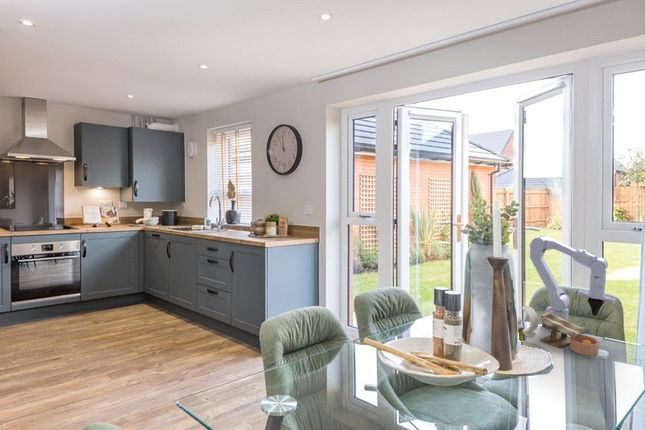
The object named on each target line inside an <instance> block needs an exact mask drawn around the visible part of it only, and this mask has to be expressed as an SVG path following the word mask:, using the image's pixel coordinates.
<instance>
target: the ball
mask: <svg viewBox="0 0 645 430" xmlns="http://www.w3.org/2000/svg"><path fill="white" fill-rule="evenodd" d="M581 343H583V344H592V343H591V342H590V341H589V340H583V341H582V342H581Z"/></svg>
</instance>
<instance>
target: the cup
mask: <svg viewBox="0 0 645 430" xmlns="http://www.w3.org/2000/svg"><path fill="white" fill-rule="evenodd" d="M569 337H570V345H569V350H571V351H573V352H574V353H577V354H579V355H584V356H596V355H598V354H599V345H600V343H599V340H598V339H596V338H594V337H592V336H588V335H586V334H581V335H579V336H577V337H574V338H573V337H571V336H569ZM583 340H589V341H590V342H591V343H592V344H583V343H581V342H582V341H583Z"/></svg>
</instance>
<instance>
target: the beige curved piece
mask: <svg viewBox="0 0 645 430" xmlns="http://www.w3.org/2000/svg"><path fill="white" fill-rule="evenodd" d="M539 320H541V328H544V329H545V330H547V331H549V330H551V326H554V327H557V331H558V330H559V332H560V333H561V332H563V333H565V334H567V336H569V337H570V336H571V337H573V338H574V337H577V336H579V335H586V334H587V333H589V332H590V329H589V328H587V327H584V326H578V325H576V324H574V323H572V322H570V321H569V320H568V321H566V320H564V319H562V318H559V317H557V316H555V315H553V314H552V313H551V312H548V313H546V314H545V313H543V314H541V315H540V319H539Z"/></svg>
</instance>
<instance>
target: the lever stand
mask: <svg viewBox="0 0 645 430" xmlns="http://www.w3.org/2000/svg"><path fill="white" fill-rule="evenodd" d="M540 342H542V343H544V344H547V345H549V346H552V347H556V348H557V349H563V348H565V347H567V346H570V336H569V335H567V334H565V333H563V332H561V331H560V332H558V330H557V327H554V326H551V329H550V334H549V335H546V336H544V337H542V338H540Z"/></svg>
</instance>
